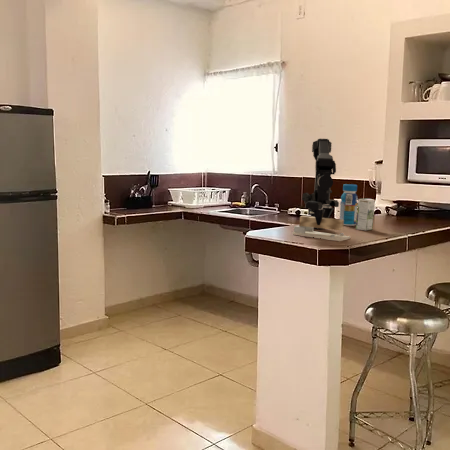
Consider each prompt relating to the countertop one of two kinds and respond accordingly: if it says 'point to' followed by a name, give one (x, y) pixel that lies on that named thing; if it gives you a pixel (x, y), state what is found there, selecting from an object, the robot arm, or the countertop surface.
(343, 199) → the beverage bottle
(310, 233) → the bracket board
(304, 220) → the oak rail
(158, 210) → the countertop surface
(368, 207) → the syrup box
